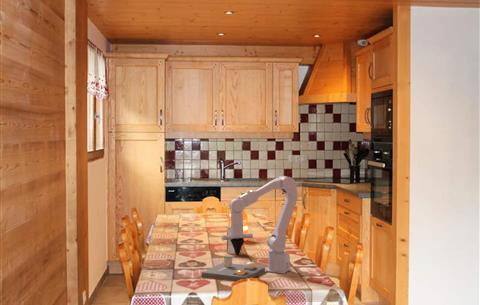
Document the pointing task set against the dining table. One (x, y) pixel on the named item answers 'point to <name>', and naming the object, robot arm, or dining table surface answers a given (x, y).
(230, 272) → the control panel
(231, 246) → the syrup box
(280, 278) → the dining table surface
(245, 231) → the orange juice
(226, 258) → the pale green slider knob
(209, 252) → the dining table surface
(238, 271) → the brass button
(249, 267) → the white button
